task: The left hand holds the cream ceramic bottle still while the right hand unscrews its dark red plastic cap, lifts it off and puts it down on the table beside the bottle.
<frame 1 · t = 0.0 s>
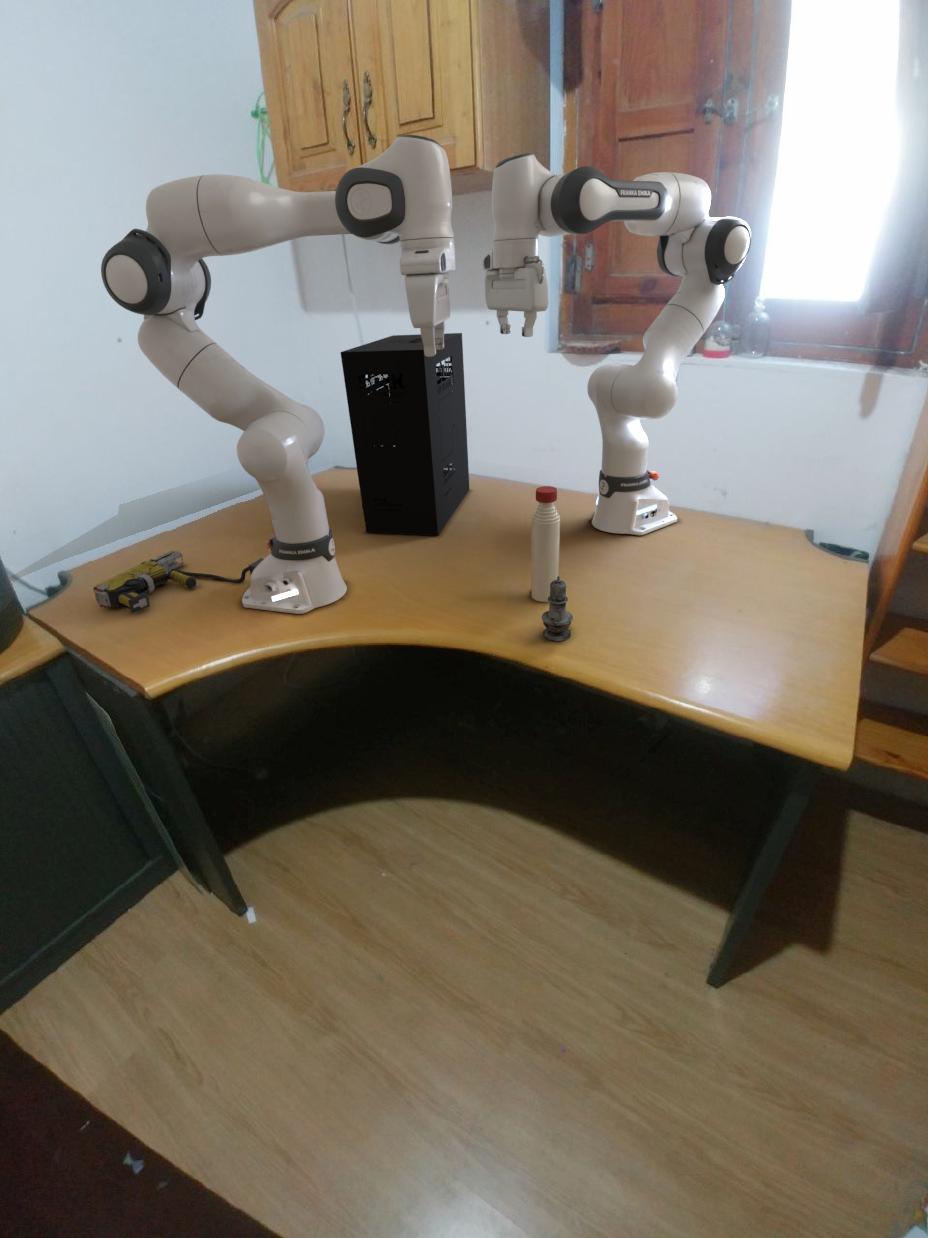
left hand: (434, 352, 106), 48 cm above the table, tool pointing down, fingers open, 8 cm apart
right hand: (516, 335, 125), 48 cm above the table, tool pointing down, fingers open, 8 cm apart
toy gun: (162, 589, 139), on the table
cap: (546, 490, 116), point 23 cm above the table, screwed on, not yet turned
bottle: (544, 595, 127), on the table
grey stepped cylinder: (556, 634, 113), on the table
black tall box: (421, 510, 177), on the table
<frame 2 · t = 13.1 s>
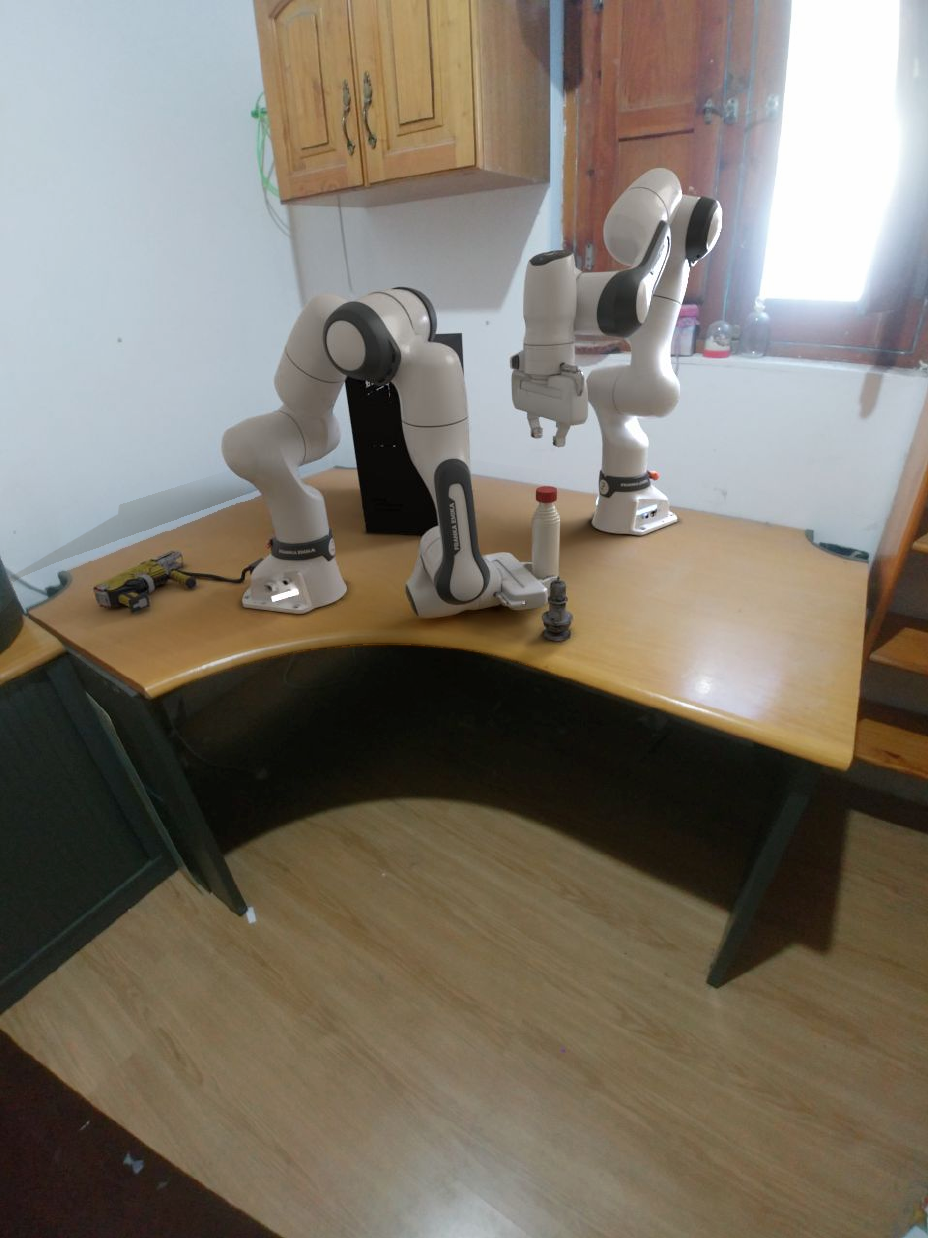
left hand: (548, 572, 125), 5 cm above the table, tool horizontal, fingers closed on bottle, 5 cm apart
right hand: (547, 441, 111), 32 cm above the table, tool pointing down, fingers open, 6 cm apart
bottle: (544, 595, 127), on the table, touching left hand
everything else where it was.
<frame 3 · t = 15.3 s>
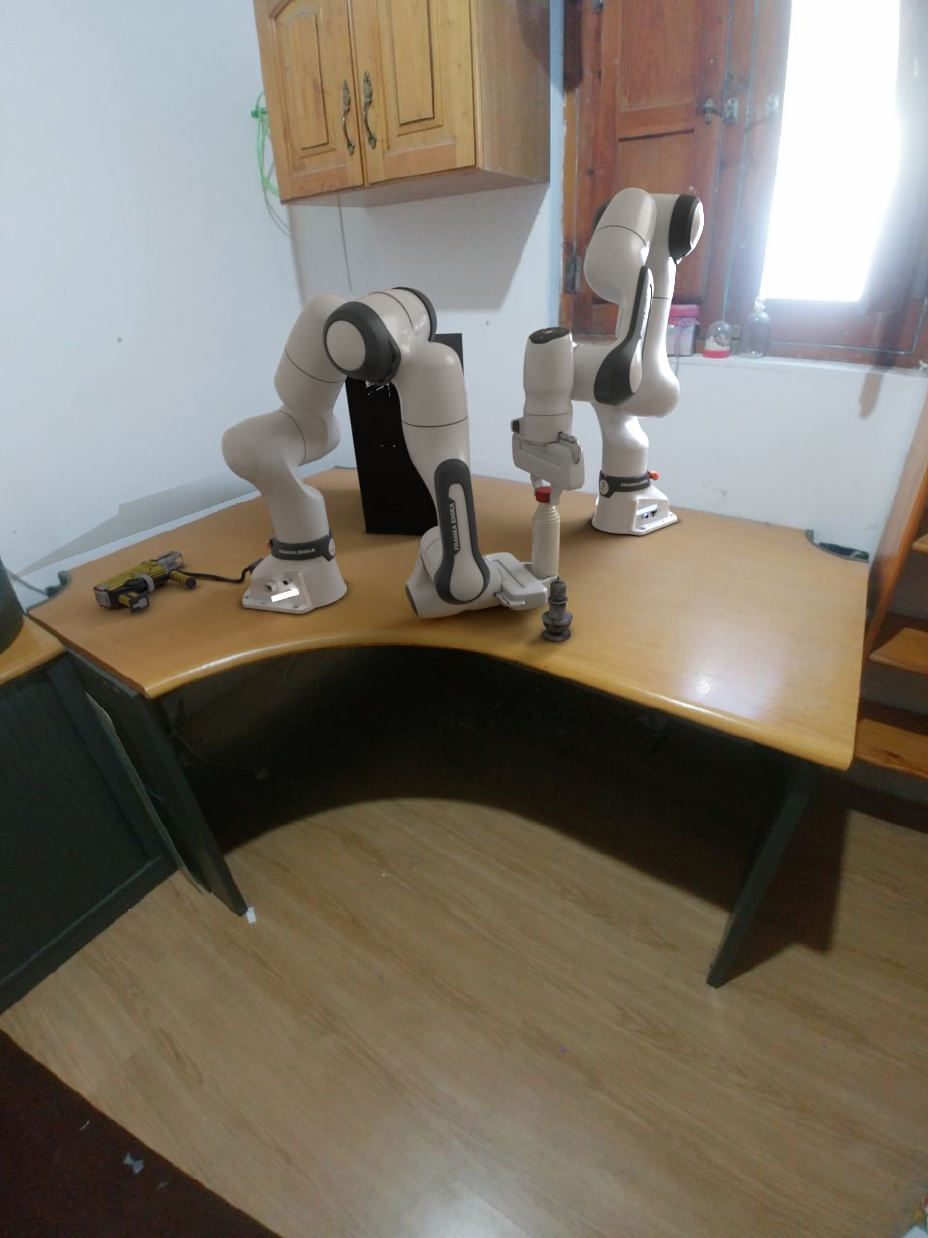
left hand: (548, 572, 125), 5 cm above the table, tool horizontal, fingers closed on bottle, 5 cm apart
right hand: (546, 500, 117), 21 cm above the table, tool pointing down, fingers closed on cap, 4 cm apart
cap: (546, 490, 116), point 23 cm above the table, screwed on, not yet turned, touching right hand
bottle: (544, 595, 127), on the table, touching left hand
everything else where it was.
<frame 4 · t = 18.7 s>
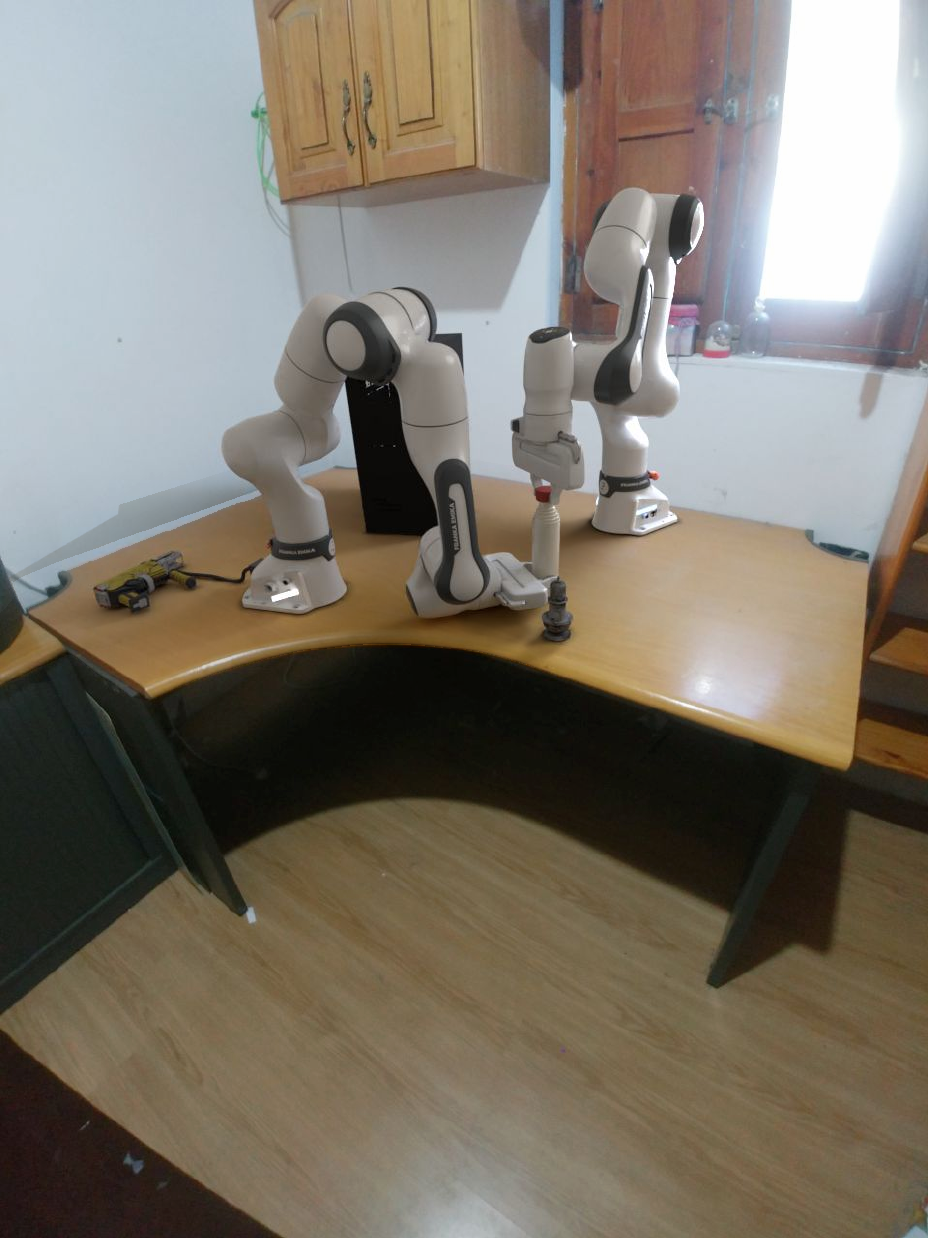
left hand: (548, 572, 125), 5 cm above the table, tool horizontal, fingers closed on bottle, 5 cm apart
right hand: (546, 500, 117), 21 cm above the table, tool pointing down, fingers closed on cap, 4 cm apart
cap: (546, 490, 116), point 23 cm above the table, turned 95° so far, risen 0.1 cm, still on its thread, touching right hand
bottle: (544, 595, 127), on the table, touching left hand
everything else where it was.
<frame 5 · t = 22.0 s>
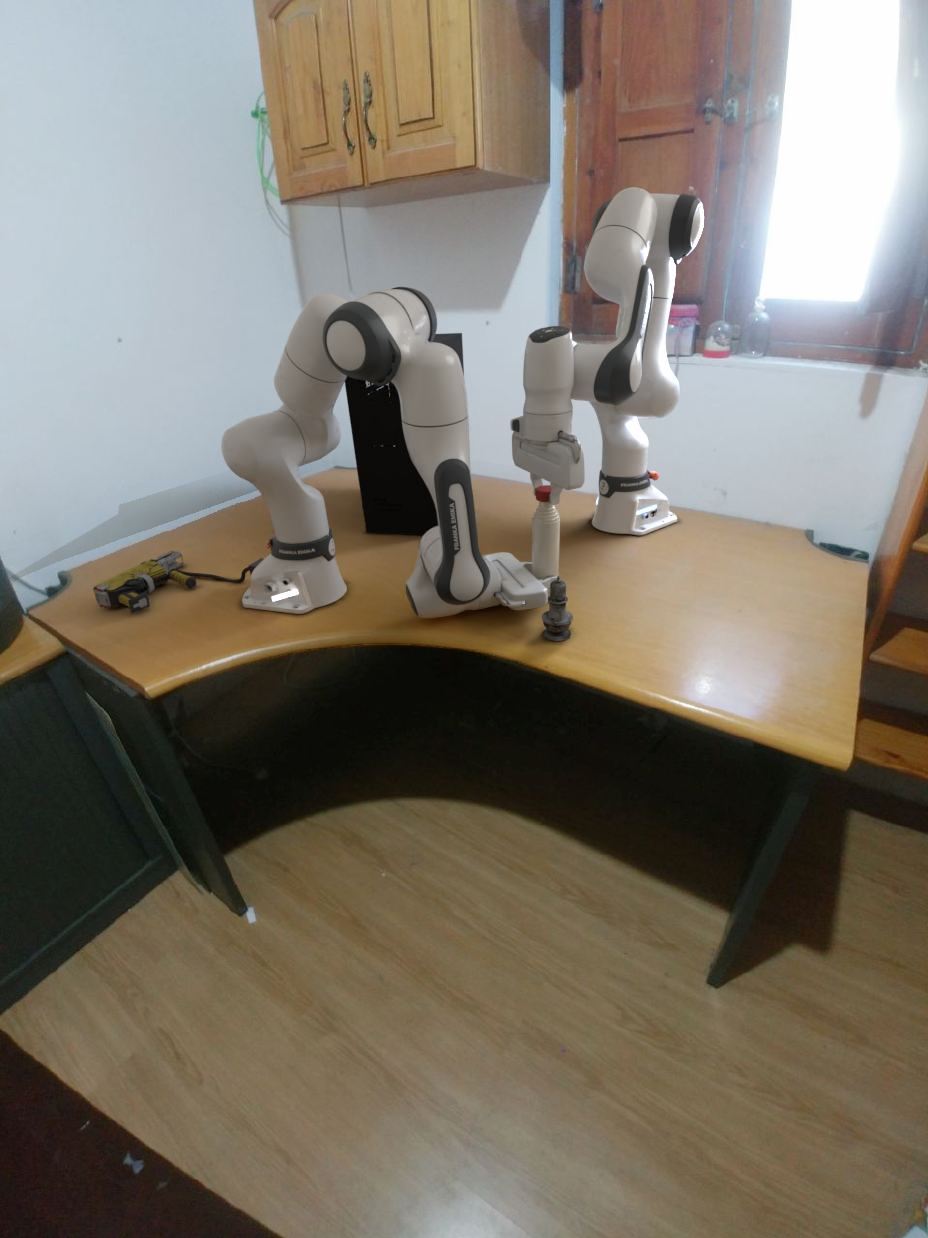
left hand: (548, 572, 125), 5 cm above the table, tool horizontal, fingers closed on bottle, 5 cm apart
right hand: (546, 499, 116), 21 cm above the table, tool pointing down, fingers closed on cap, 4 cm apart
cap: (546, 489, 115), point 23 cm above the table, turned 190° so far, risen 0.2 cm, still on its thread, touching right hand
bottle: (544, 595, 127), on the table, touching left hand
everything else where it was.
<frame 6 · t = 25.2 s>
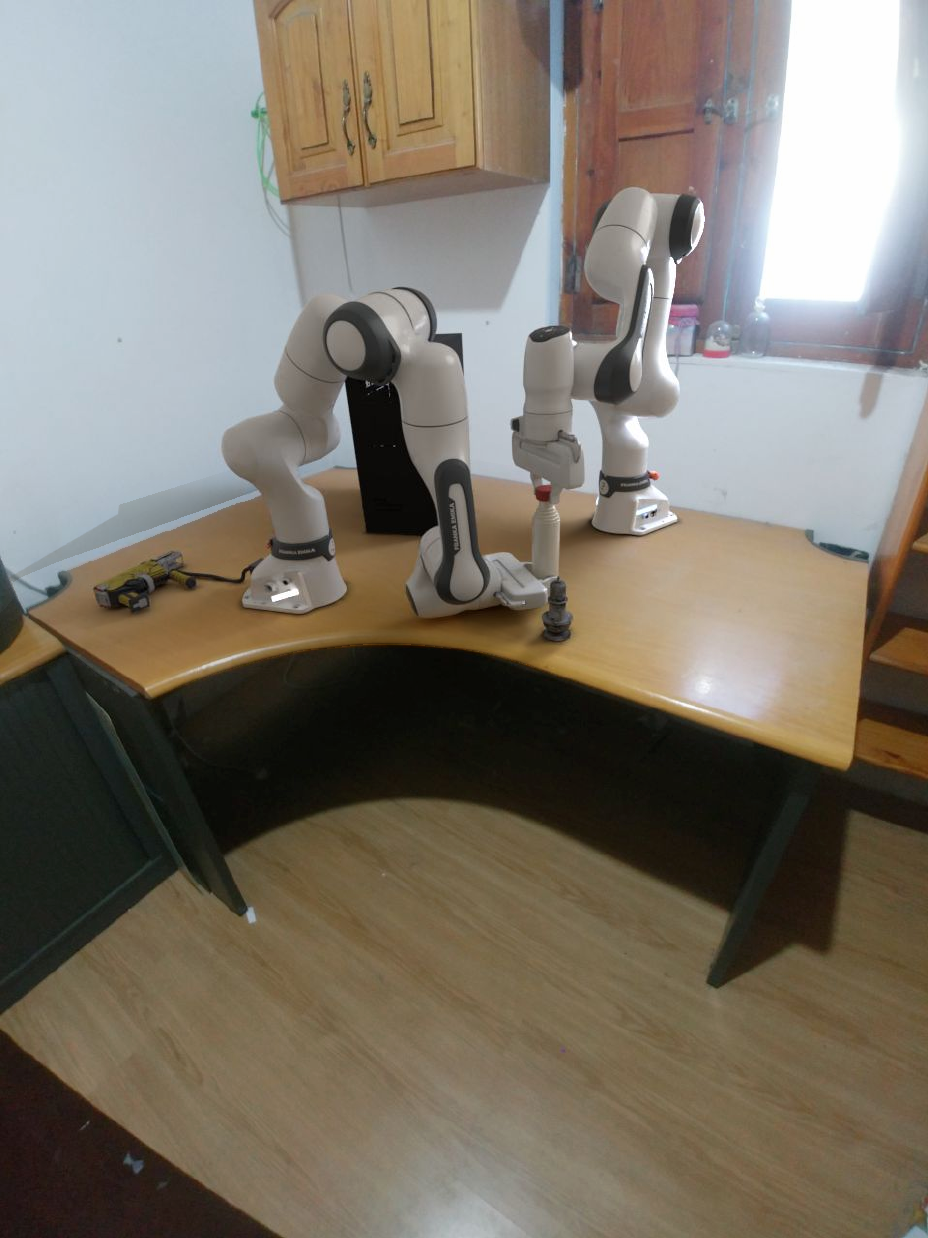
left hand: (548, 572, 125), 5 cm above the table, tool horizontal, fingers closed on bottle, 5 cm apart
right hand: (546, 499, 116), 21 cm above the table, tool pointing down, fingers closed on cap, 4 cm apart
cap: (546, 489, 115), point 23 cm above the table, turned 285° so far, risen 0.2 cm, still on its thread, touching right hand
bottle: (544, 595, 127), on the table, touching left hand
everything else where it was.
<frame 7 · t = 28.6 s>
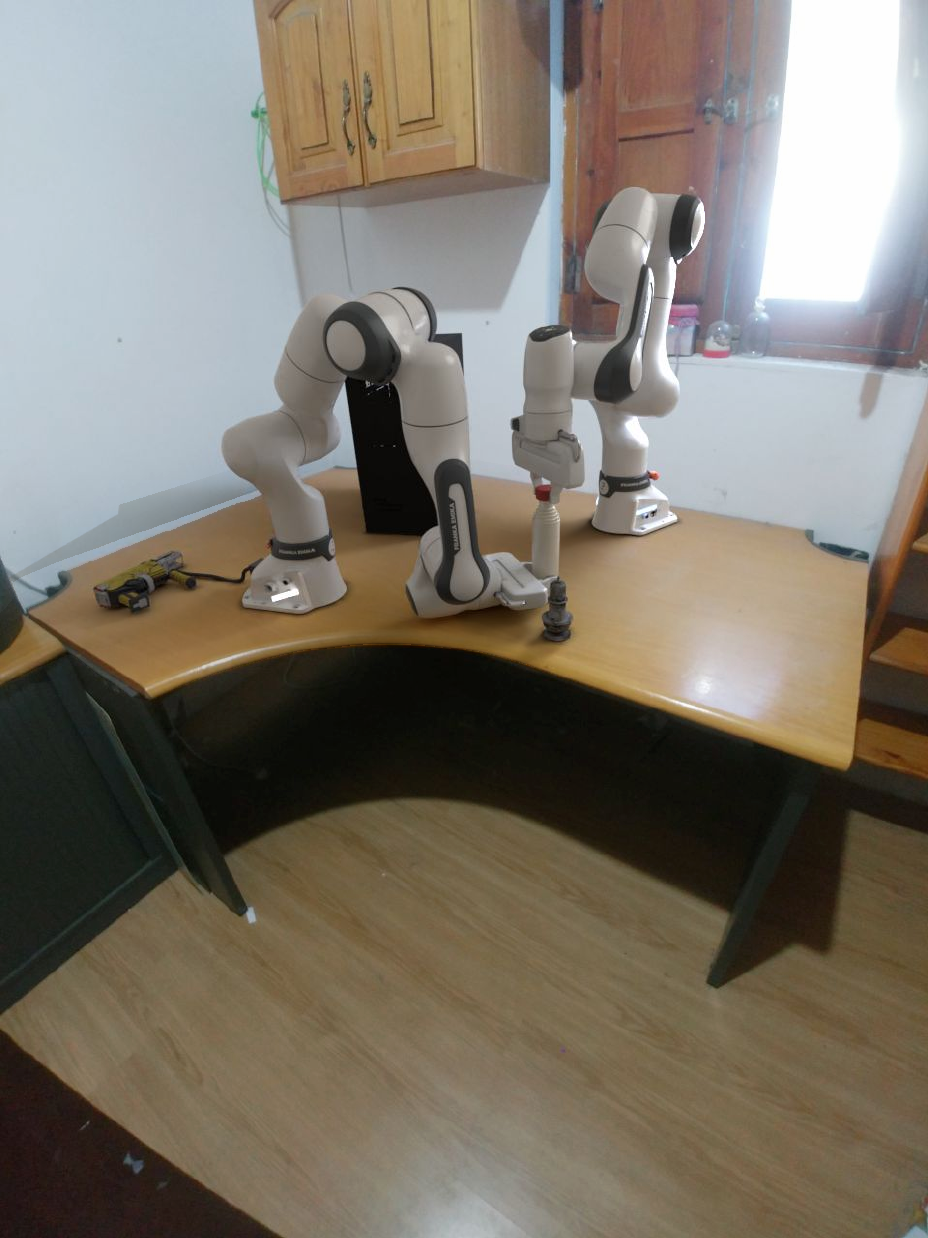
left hand: (548, 572, 125), 5 cm above the table, tool horizontal, fingers closed on bottle, 5 cm apart
right hand: (546, 498, 116), 21 cm above the table, tool pointing down, fingers closed on cap, 4 cm apart
cap: (546, 489, 115), point 23 cm above the table, turned 380° so far, risen 0.3 cm, still on its thread, touching right hand
bottle: (544, 595, 127), on the table, touching left hand
everything else where it was.
when the right hand's fingers open (2 cm above the table, at t = 35.4 s): cap drops 2 cm, point 2 cm above the table.
when the left hand's fingers open (5 cm above the table, at t = 36.7 s): bottle stays where it is, on the table.
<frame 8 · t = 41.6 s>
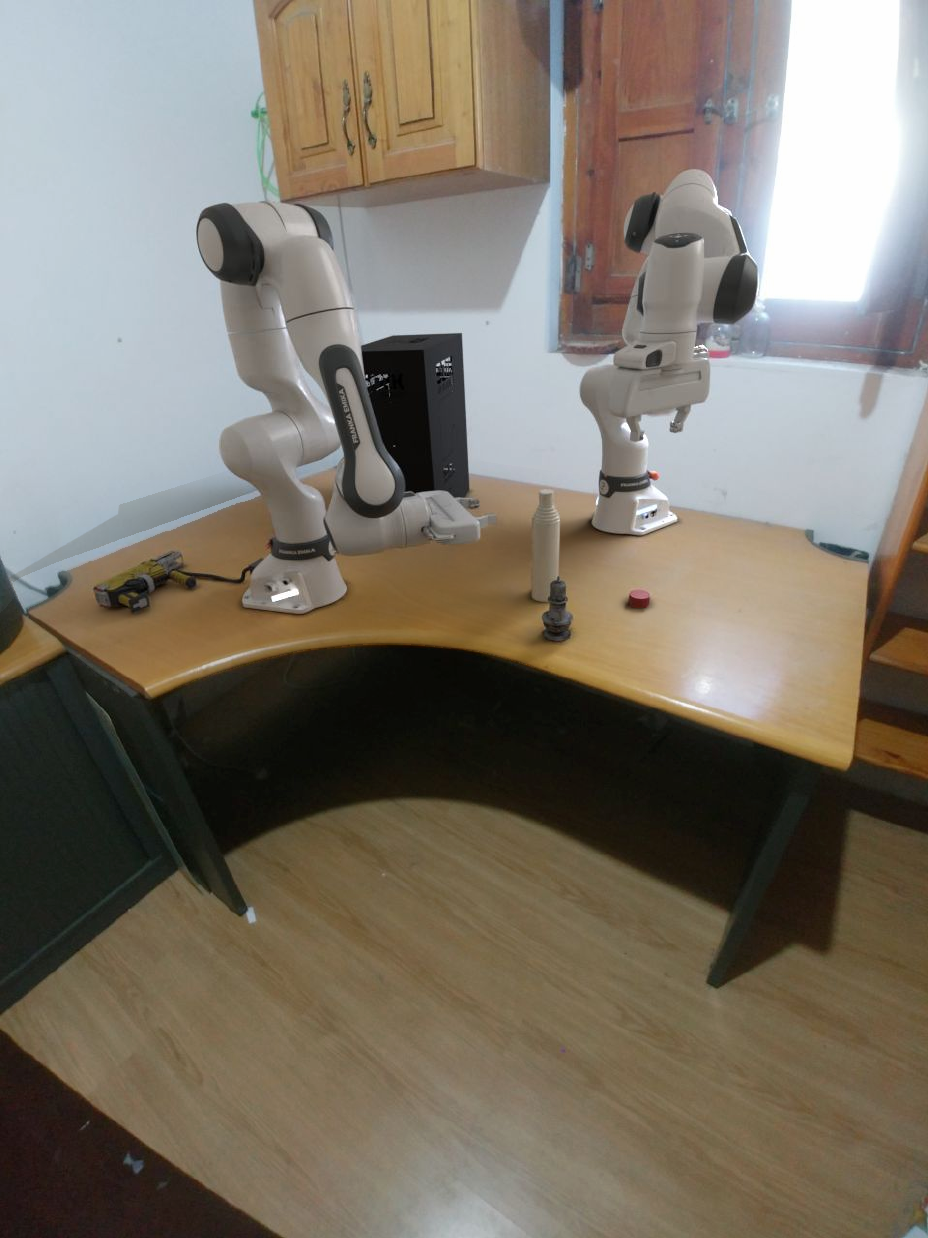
left hand: (486, 509, 114), 21 cm above the table, tool horizontal, fingers open, 8 cm apart
right hand: (656, 436, 105), 33 cm above the table, tool pointing down, fingers open, 8 cm apart
cap: (639, 595, 121), point 2 cm above the table, off its thread
bottle: (544, 595, 127), on the table
everything else where it was.
at the end: cap came off its thread; cap point 1.8 cm above the table; the left hand is holding nothing; the right hand is holding nothing; bottle tilted 0°; bottle moved 0.0 cm from its start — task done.
